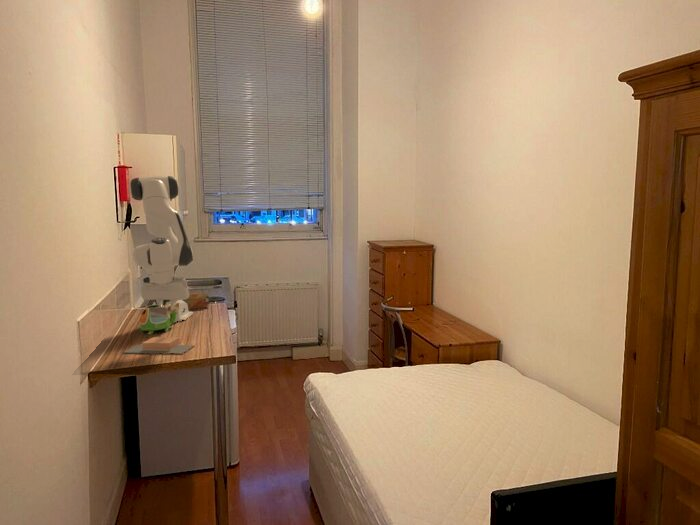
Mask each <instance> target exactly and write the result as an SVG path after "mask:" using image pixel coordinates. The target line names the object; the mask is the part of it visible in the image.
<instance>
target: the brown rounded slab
mask: <svg viewBox="0 0 700 525" xmlns="http://www.w3.org/2000/svg"><path fill="white" fill-rule="evenodd" d="M183 301H184V302H186V303H187V305H188V310H197V309H196V308H199V309H204V308H207V307H208V306H209V304H210V303H211V302H210V301H211V299H210V296H209V295H208V294H207V293H205V292H197V293H189V297H188V298H187V299H185V300H183Z"/></svg>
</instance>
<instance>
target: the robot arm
mask: <svg viewBox="0 0 700 525" xmlns="http://www.w3.org/2000/svg"><path fill="white" fill-rule="evenodd" d="M128 192H129V194H130V196H131V198H132V199H133V200H135V201H142V207H143V211H144V215H145V226H146V230H147V232H148V233H149V234H150V235H151V236H155V238H153V239H151V240H150V243H145V244H141V245H137V246H135V248H134V250H133V253H132V257H133V258H132V259H133V261H134V262H135V264H136V265H137V266H139V267H140V268H142V269H143V270H144V271H146V273H147V274H148V275H146V276H144V277H142V278H140V282H141V283H142V284H141V285H140V294H141V295H140V296H141V298H142V300H144V301H148V300H149V301H153V303H152V304H151V305H156V304H158V305H159V306H160V307H164V306H167V305H169V304H171V305H170V306H168V308H169V310H174V304H175V303H179V308H180V309H179V310H177V311H178V313H177V314H176V319H175V321H174V323H178V322H183V321H182V320H185V321H186V319H187V318H188V319H189V318H191V316H193V315H194V312H193V311H190V310H189V309H188V305H187V303H186V302H184V301H183V300H185V299H187V298H188V297H189V294H190V290H189V287H188V280H187V279H186V278H184V277H180V276H179V277H177V276H175V268H174V267H176V266H179V267H181V266H182V267H183V266H184V267H186V266H188V265H189V264H191V262H192V261H193V259H194V252H193V249H192V247H191V244H190V242H189V239H188V236H187V233H186V229H185V227H184V224H183V221H182V219H181V216H180V214H179V212H178V211H177V210H174V209H173V208H172V207H171V205H170V202H172V200H173V199H175V198H177V197H178V196H179V193H180V184H179V181H178V180H177V178H176V177H175V176H171V175H167V176H164V175H153V176H145V177H135V178H132V179H131V180H130V183H129V186H128ZM173 230H174V232H173ZM169 316H170V314H169ZM188 319H187V320H188ZM177 321H178V322H177Z"/></svg>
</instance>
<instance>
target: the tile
mask: <svg viewBox="0 0 700 525" xmlns="http://www.w3.org/2000/svg"><path fill="white" fill-rule="evenodd" d="M141 343H142V344H141V345H143V350H172V349H174V348H175V347H177V346H178V345H181V338H180V337H179V336H177V337H175V336H174V337H172V336H171V337H170V336H169V337H168V336H167V337H166V336H163V337H162V336H161V337H159V336H153V337H151V338H149V339H148V340H146V341H143V342H141Z"/></svg>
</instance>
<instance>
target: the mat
mask: <svg viewBox="0 0 700 525" xmlns="http://www.w3.org/2000/svg"><path fill="white" fill-rule="evenodd" d="M194 346H195V345H193V344H192V345H191V344H190V345H189V344H188V345H187V344H184V345H183V344H180V345H178V346H177V347H175V348H174V349H172V350H143V344H136V345H134V346H132V347H130V348H129V349H126V350H124V351H122V354H130V355H131V354H133V355H137V354H138V353H149V354H148V355H160V354H159V353H162V354H161V355H167V354H166V353H177V354H176V355H184V354H185V353H184V352H186V351H187V350H189V349H190V350H192V349H193V348H195V347H194ZM192 347H193V348H192ZM191 348H192V349H191ZM190 350H189V351H190ZM187 352H188V351H187ZM187 352H186V353H187ZM164 353H165V354H164ZM180 353H181V354H180ZM183 353H184V354H183ZM138 355H139V354H138Z"/></svg>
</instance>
